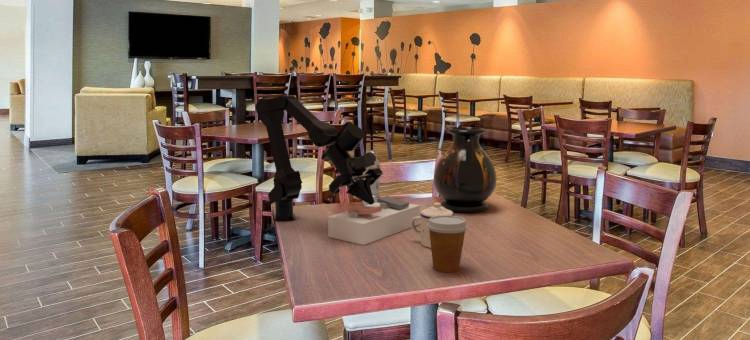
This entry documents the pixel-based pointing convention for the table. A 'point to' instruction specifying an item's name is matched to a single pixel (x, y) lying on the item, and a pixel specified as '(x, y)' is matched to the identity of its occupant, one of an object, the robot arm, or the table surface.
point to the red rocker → (365, 209)
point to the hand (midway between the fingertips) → (372, 203)
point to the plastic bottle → (375, 187)
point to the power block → (371, 223)
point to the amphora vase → (465, 172)
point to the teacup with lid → (425, 216)
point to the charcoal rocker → (393, 202)
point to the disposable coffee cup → (446, 241)
